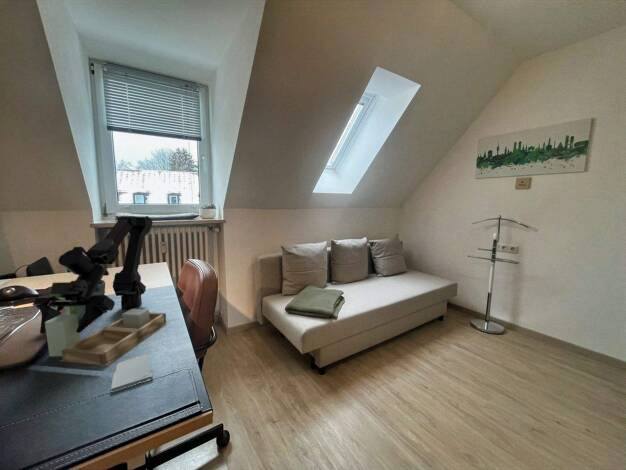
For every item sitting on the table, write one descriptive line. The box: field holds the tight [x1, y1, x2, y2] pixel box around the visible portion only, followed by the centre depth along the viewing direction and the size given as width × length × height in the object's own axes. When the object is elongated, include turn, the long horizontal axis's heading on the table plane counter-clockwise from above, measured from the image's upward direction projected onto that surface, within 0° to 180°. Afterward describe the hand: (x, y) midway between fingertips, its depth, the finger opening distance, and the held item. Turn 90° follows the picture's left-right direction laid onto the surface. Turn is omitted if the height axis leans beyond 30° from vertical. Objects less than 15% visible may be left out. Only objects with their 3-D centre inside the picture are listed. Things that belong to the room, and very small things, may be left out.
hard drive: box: [110, 354, 153, 393], centre depth 65 cm, size 2×8×12 cm
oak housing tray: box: [59, 311, 169, 366], centre depth 78 cm, size 24×14×4 cm, turn 174°
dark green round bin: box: [77, 279, 106, 319], centre depth 96 cm, size 10×10×12 cm
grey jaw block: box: [122, 308, 150, 329], centre depth 83 cm, size 4×6×6 cm, turn 84°
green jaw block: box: [45, 314, 81, 357], centre depth 70 cm, size 4×4×11 cm
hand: (59, 333), depth 69 cm, fingers open, 9 cm apart
